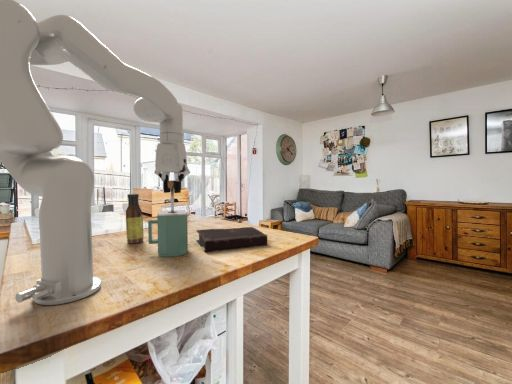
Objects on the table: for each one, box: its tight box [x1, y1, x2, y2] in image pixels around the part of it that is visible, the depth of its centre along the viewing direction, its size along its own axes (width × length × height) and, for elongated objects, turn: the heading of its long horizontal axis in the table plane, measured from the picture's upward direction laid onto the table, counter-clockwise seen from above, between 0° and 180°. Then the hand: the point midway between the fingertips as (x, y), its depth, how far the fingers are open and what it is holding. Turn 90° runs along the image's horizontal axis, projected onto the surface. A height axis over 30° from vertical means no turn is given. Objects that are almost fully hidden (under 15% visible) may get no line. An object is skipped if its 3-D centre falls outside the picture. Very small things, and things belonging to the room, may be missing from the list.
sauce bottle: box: [125, 193, 144, 244], centre depth 102 cm, size 6×6×20 cm
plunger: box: [167, 180, 176, 213], centre depth 87 cm, size 7×7×15 cm
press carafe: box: [147, 209, 189, 258], centre depth 88 cm, size 10×13×14 cm
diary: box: [196, 226, 268, 253], centre depth 102 cm, size 19×25×5 cm
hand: (172, 192), depth 87 cm, fingers closed on plunger, 3 cm apart
